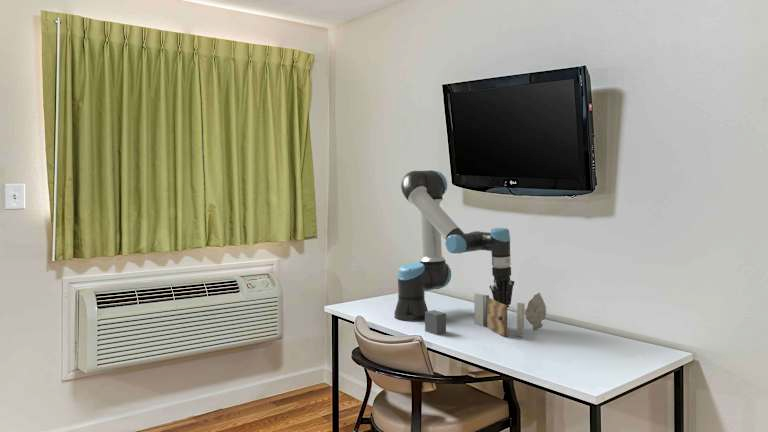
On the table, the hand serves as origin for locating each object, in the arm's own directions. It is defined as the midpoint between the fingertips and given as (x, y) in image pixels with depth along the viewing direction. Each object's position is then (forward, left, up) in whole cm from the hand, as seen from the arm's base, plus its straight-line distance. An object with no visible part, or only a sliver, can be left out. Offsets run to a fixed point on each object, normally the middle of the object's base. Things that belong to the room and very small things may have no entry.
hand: (503, 322), depth 243 cm
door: (+2, -7, -2) cm, 8 cm away
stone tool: (+10, +8, -2) cm, 13 cm away
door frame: (+1, -4, -2) cm, 5 cm away
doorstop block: (-13, -26, -2) cm, 29 cm away
